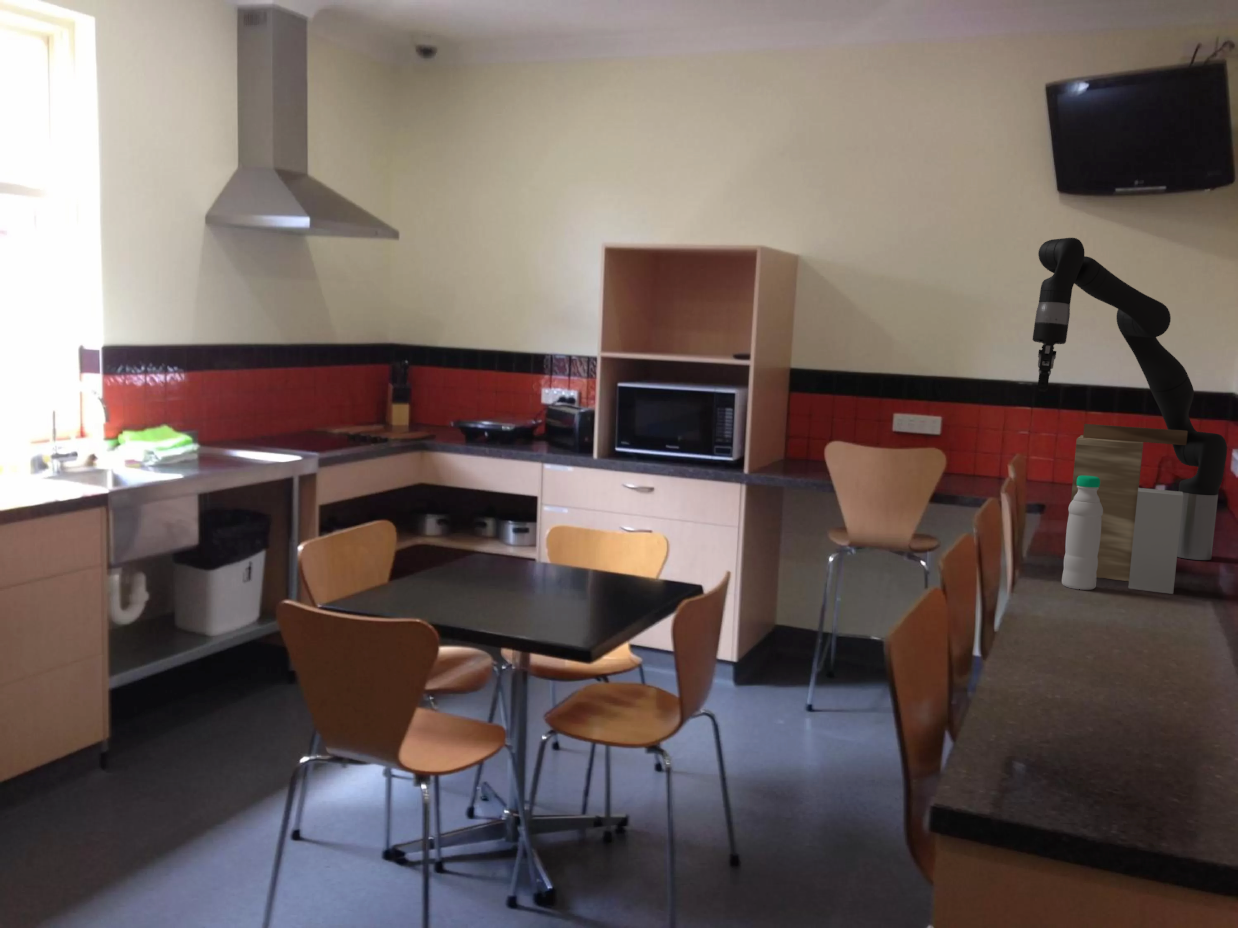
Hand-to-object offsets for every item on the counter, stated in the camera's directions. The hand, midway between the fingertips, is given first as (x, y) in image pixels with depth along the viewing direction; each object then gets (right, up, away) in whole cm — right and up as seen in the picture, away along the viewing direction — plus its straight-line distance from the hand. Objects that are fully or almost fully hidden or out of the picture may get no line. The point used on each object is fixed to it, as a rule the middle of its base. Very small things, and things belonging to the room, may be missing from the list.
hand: (1042, 390), depth 259 cm
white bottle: (+1, -45, -17) cm, 49 cm away
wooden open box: (+15, -44, +3) cm, 46 cm away
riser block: (+19, -46, -15) cm, 51 cm away
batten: (+21, -12, -3) cm, 24 cm away
